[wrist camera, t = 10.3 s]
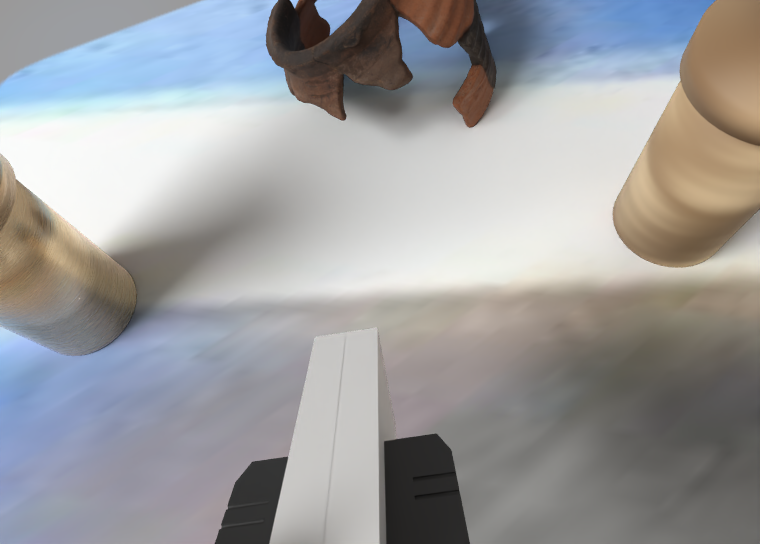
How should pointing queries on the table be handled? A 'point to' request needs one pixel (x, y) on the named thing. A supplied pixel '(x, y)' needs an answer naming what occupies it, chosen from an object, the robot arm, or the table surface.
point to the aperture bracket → (56, 277)
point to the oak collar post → (700, 147)
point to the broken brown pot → (376, 49)
